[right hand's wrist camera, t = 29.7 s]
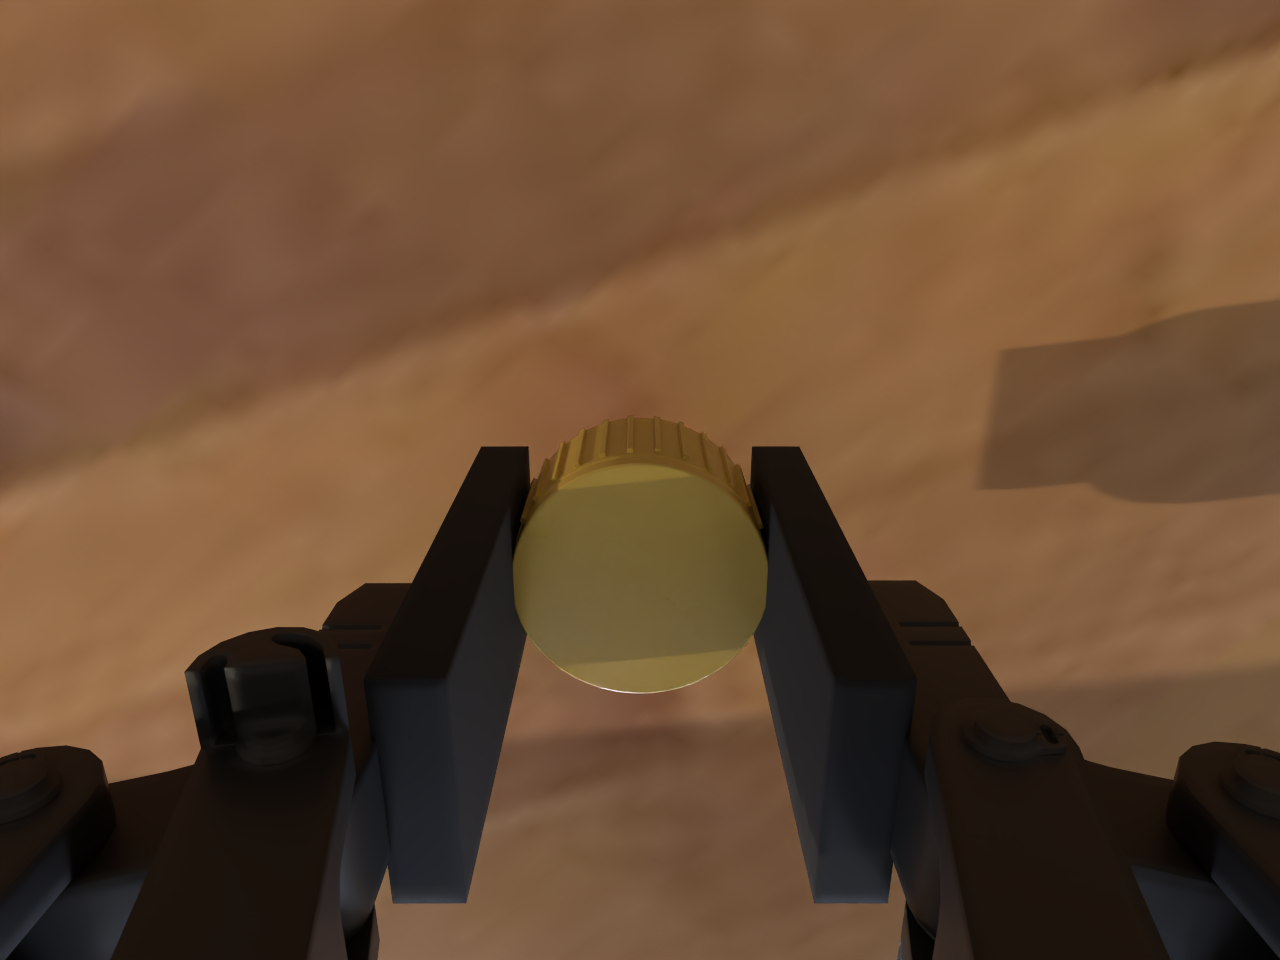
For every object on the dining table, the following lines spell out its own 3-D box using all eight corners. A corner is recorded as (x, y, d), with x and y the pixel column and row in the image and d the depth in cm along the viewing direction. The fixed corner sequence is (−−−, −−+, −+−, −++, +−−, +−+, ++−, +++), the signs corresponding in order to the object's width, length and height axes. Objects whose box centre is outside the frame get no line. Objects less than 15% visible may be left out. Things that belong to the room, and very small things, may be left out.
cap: (477, 495, 14) (451, 553, 12) (673, 367, 14) (678, 405, 12) (611, 661, 15) (607, 738, 13) (799, 550, 15) (823, 615, 13)
